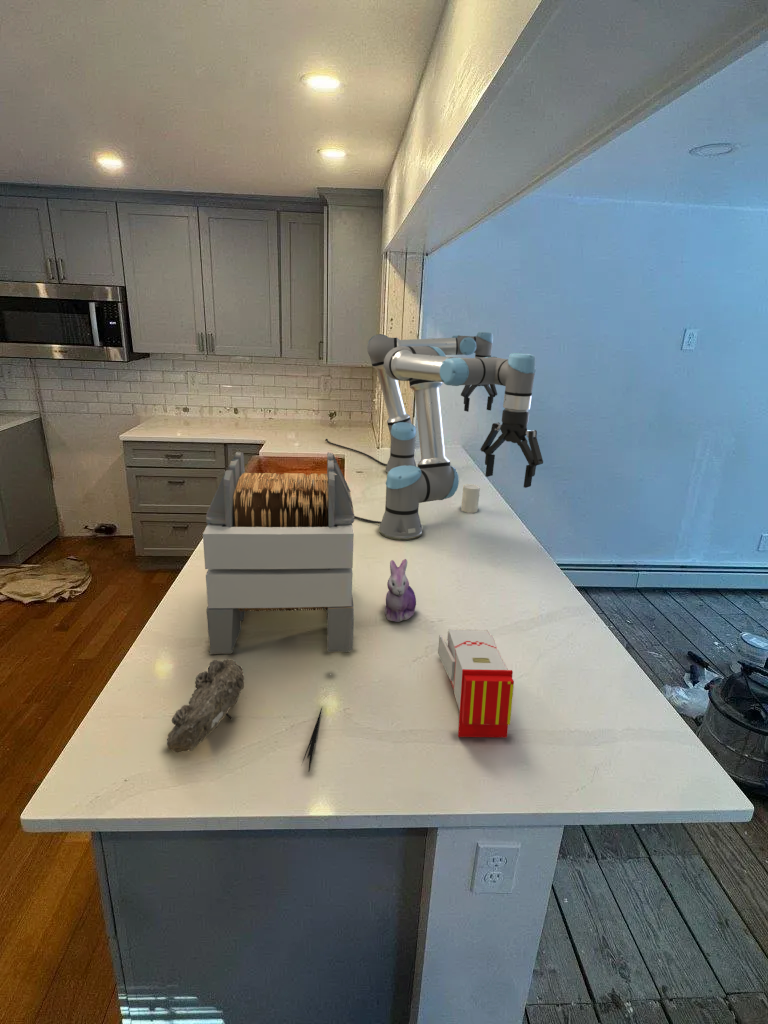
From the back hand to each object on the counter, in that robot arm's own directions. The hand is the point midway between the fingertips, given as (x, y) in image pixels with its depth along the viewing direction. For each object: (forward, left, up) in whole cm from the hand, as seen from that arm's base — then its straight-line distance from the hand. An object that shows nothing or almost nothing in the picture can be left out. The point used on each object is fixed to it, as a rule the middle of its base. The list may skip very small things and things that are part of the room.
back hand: (477, 410), depth 278 cm
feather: (+143, -137, -29) cm, 200 cm away
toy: (+147, -106, -29) cm, 184 cm away
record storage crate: (+103, -132, -29) cm, 170 cm away
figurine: (+114, -104, -29) cm, 157 cm away
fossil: (+133, -156, -29) cm, 207 cm away
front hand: (+100, -61, -2) cm, 117 cm away
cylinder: (+52, -39, -29) cm, 71 cm away
